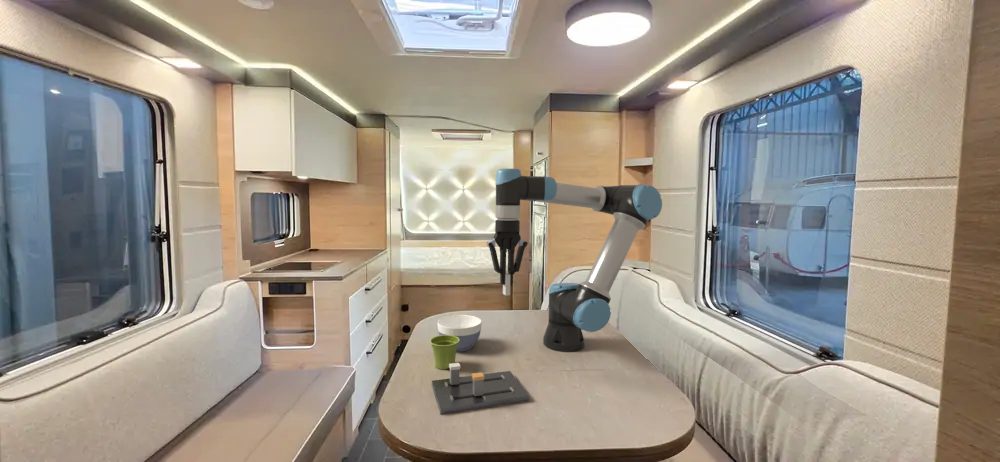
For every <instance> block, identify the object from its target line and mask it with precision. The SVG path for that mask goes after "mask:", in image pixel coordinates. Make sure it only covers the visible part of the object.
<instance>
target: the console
mask: <svg viewBox="0 0 1000 462" xmlns="http://www.w3.org/2000/svg"><path fill="white" fill-rule="evenodd" d="M482 374H483V375H484V380H483V395H480V396H474V395H473V378H472V375H466V376H460V380H459V384H455V385H451V384H450V377H449V378H443V379H441V378H440V379H436V380H431V388H432V390H433V394H434V397H435V400H436V404H437V408H438V410H439V413H440V415H446V414H452V413H453V414H454V413H459V412H466V411H472V410H478V409H485V408H492V407H497V406H498V407H499V406H503V405H511V404H518V403H526V402H529V401H530V395H529V393H528V392H527V391H526V390H525V388H524V387H523V386H522V385H521V384H522V383H520V382H519V380H517V378H516V376H515V375H513V373H512V372H511V371H510V370H507V371H505V370H504V371H500V372H499V371H498V372H491V373H489V372H488V373H482Z"/></svg>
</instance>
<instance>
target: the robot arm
mask: <svg viewBox="0 0 1000 462" xmlns="http://www.w3.org/2000/svg"><path fill="white" fill-rule="evenodd" d="M494 185H495V218H496V220H495V223H494V224H495V228H494V229H495V231H494V232H495V233H494V236H493V239H491V240H489V241H487V242H486V246H487V247H488V249H489V252H490V257H491V261H492V264H493V270H494V271H495V272H496V273H497V274H499V276H500V277H499V279H500V280H499V282H500V285H502V295H504V296H505V297H507V296H511V285H513V284H514V275H515V273H519V271H520V268H521V264H522V261H523V256H524V253H525V249H526V247H527V246H528V242H527V241H526V240H523V239H522V236H521V234H520V227H521V226H520V225H521V224H520V220H519V219H520V218H521V201H527V202H528V201H529V202H538V203H544V204H545V203H547V204H556V205H561V206H562V205H563V206H571V207H572V206H573V207H580V208H587V209H588V208H589V209H591V210H592V211H594V212H599V213H604V214H609V215H613V218H614V222H613V224H612V226H611V228H610V230H609V232H608V234H607V237H606V238H605V240H604V242H603V244H602V247H601V248H600V251H599V252H598V254H597V257H596V259H595V261H594V263H593V265H592V267H591V269H590V270H589V273H588V275H587V278H586V279H585V281H582V282H580V283H577V282H560V283H559V282H558V283H553V284H551V285H550V286H549V291H548V324H547V326H546V329H545V332H544V334H543V338H542V339H543V341H542V343H543V346H545V348H548V349H550V350H553V351H559V352H575V351H579V350H582V349H584V347H585V337H584V335H583V332H582V330H583V331H585V332H589V333H595V332H597V331H600V330H602V329H603V328H605V327H606V325H608V323H609V322H610V318H611V316H612V315H611V314H612V312H611V307H610V305H609V304H610V301H611V295H610V292H611V289H612V287H613V284H615V283H614V282H615V280H616V279H617V277H618V274H619V273H620V270H621V268H622V267H623V264H624V262H625V259H626V257H627V256H628V253H629V251H630V249H631V247H632V245H633V243H634V241H635V239H636V237H637V234H638V232H639V231H640V230H643V229H645V228H646V226H647V224H648V223H649V220H654V219H656V218H657V217H658V216H659V215H660V213H661V212H662V209H663V200H662V197H661V193H660V191H659V190H658V189H657V188H656V187H655V186H652V185H651V184H643V183H640V184H639V183H638V184H631V185H630V184H626V185H625V184H624V185H623V184H621V185H620V184H619V185H612V186H611V185H610V186H609V185H607V186H605V185H604V186H603V185H596V186H595V187H589V186H582V185H577V184H567V183H560V182H557V181H556V179H555V178H554V177H552V176H546V175H544V176H543V175H542V176H541V175H540V176H539V175H535V176H534V175H533V176H531V175H529V176H528V175H522V173H521V170H520V168H499V169H498V170H496V174H495V184H494ZM517 245H518V248H517V250H516V247H517ZM496 246H498V247H499V259H498V254H497V248H496ZM515 251H516V255H515Z"/></svg>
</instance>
